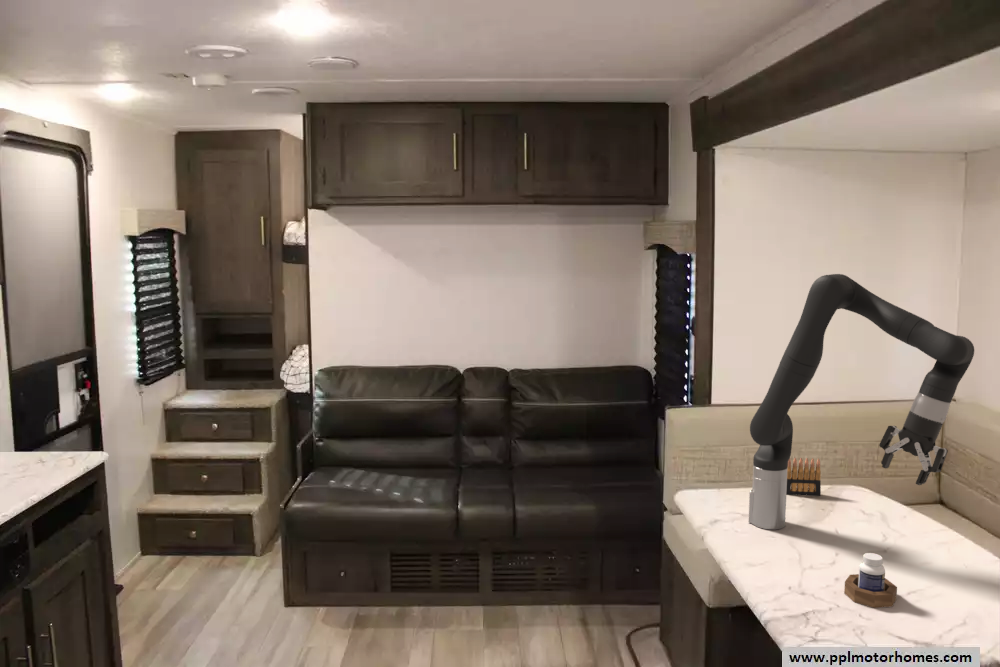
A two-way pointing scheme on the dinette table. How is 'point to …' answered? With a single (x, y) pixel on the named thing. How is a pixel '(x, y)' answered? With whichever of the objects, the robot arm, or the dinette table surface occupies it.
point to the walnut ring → (870, 593)
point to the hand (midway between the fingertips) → (901, 475)
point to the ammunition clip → (804, 478)
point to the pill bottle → (871, 573)
